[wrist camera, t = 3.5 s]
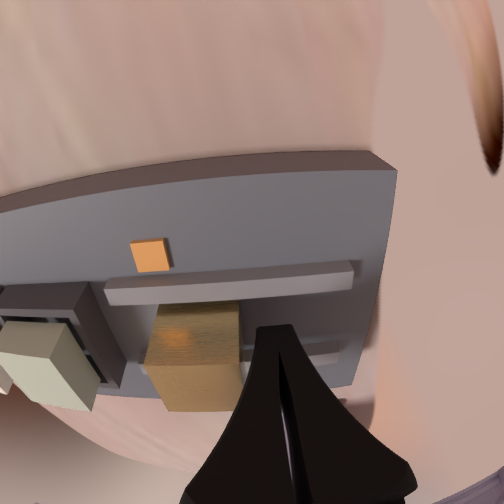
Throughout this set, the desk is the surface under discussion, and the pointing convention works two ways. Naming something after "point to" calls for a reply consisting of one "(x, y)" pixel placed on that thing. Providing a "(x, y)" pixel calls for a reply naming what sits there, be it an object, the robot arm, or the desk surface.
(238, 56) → the desk surface
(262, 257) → the control panel
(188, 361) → the slider knob
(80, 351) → the button sage
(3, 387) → the button cream
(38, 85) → the desk surface
